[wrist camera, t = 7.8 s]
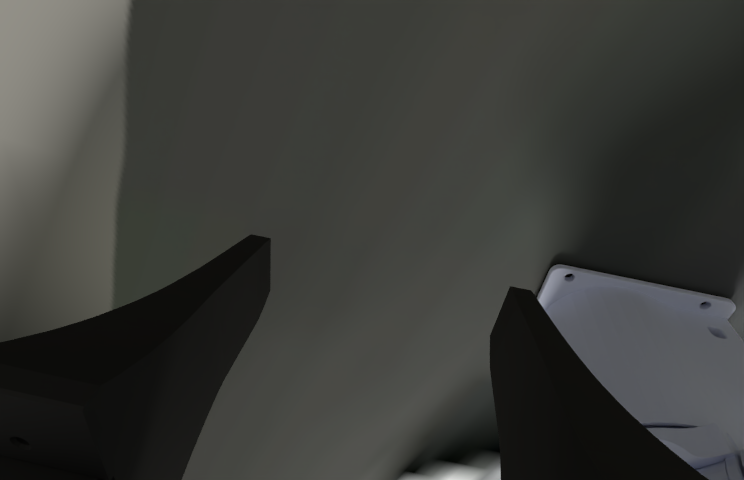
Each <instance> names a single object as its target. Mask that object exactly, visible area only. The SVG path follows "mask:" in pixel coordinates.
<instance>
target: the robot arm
mask: <svg viewBox="0 0 744 480" xmlns="http://www.w3.org/2000/svg"><path fill="white" fill-rule="evenodd" d="M270 243H271V238H266V237H261V236H256V235H249V236H248V237H246V238H245V239H243V240H242V241H240V242H239V243H237V244H235V245H234V246H232V247H231V248H230V249H228V250H227V251H225V252H223V253H222V254H220V255H219V256H217V257H216V258H214V259H213V260H211V261H210V262H208V263H206V264H205V265H203V266H202V267H200V268H199V269H197V270H195V271H193V272H192V273H190V274H188V275H186V276H185V277H183V278H181V279H179V280H178V281H176V282H174V283H172V284H170V285H168V286H167V287H165V288H163V289H161V290H159V291H157V292H154V293H152V294H150V295H148V296H146V297H144V298H141V299H139V300H137V301H135V302H132V303H130V304H127V305H125V306H122V307H119V308H117V309H114V310H112V311H109V312H106V313H104V314H101V315H99V316H96V317H93V318H90V319H87V320H84V321H81V322H78V323H74V324H71V325H68V326H64V327H61V328H58V329H54V330H50V331H47V332H43V333H39V334H34V335H30V336H26V337H22V338H18V339H14V340H10V341H5V342H0V480H181V479H182V477H183V474H184V472H185V469H186V467H187V464H188V461H189V459H190V456H191V454H192V451H193V449H194V447H195V444H196V442H197V439H198V437H199V435H200V432H201V430H202V427H203V425H204V423H205V420H206V418H207V416H208V413H209V411H210V409H211V407H212V404H213V402H214V400H215V397H216V395H217V393H218V391H219V389H220V387H221V385H222V383H223V381H224V379H225V377H226V375H227V374H228V372H229V370H230V368H231V367H232V365H233V363H234V361H235V360H236V358H237V356H238V354H239V353H240V351H241V349H242V347H243V346H244V344H245V342H246V340H247V339H248V337H249V335H250V333H251V332H252V330H253V328H254V326H255V324H256V323H257V321H258V319H259V317H260V314H261V312H262V310H263V307H264V305H265V302H266V300H267V297H268V295H269V292H270ZM567 274H573V275H572V276H570V277H565V276H566V275H567ZM703 302H706V303H705V304H702V305H700V304H701V303H703ZM735 309H736V305H735V304H734V303H733V302H732V301H731V299H728V298H724V297H719V296H714V295H709V294H704V293H699V292H694V291H690V290H685V289H680V288H675V287H670V286H665V285H660V284H655V283H650V282H646V281H641V280H636V279H631V278H626V277H621V276H616V275H611V274H606V273H602V272H597V271H592V270H587V269H582V268H577V267H572V266H567V265H562V264H558V265H554V266H553V267H551V269H550V270H549V272H548V274H547V277H546V279H545V281H544V283H543V285H542V288H541V290H540V292H539V294H538V296H537V298H536V297H535V295H534V294H533V292H532V291H531V290H526V289H521V288H516V287H511V286H510V288H509V291H508V293H507V296H506V298H505V300H504V303H503V305H502V308H501V310H500V313H499V315H498V318H497V320H496V323H495V325H494V327H493V330H492V332H491V335H490V371H491V379H492V387H493V395H494V403H495V411H496V418H497V426H498V433H499V443H500V459H501V480H744V342H743V340H742V339H741V337H740V336H739V335H738V333H737V332H736V331H735V329H734V328H733V327H732V325H731V324H730V322H729V321H728V319H729V317H730V316H731V315H732V314H733V312H734V311H735Z"/></svg>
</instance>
